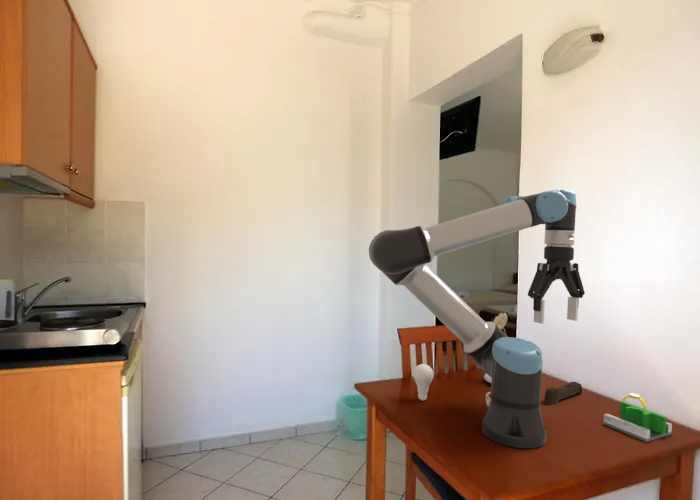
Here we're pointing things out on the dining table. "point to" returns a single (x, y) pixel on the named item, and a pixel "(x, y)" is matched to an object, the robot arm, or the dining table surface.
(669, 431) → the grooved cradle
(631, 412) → the pipe clamp
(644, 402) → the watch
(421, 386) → the lightbulb
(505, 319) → the flower in vase
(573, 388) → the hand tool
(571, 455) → the dining table surface
